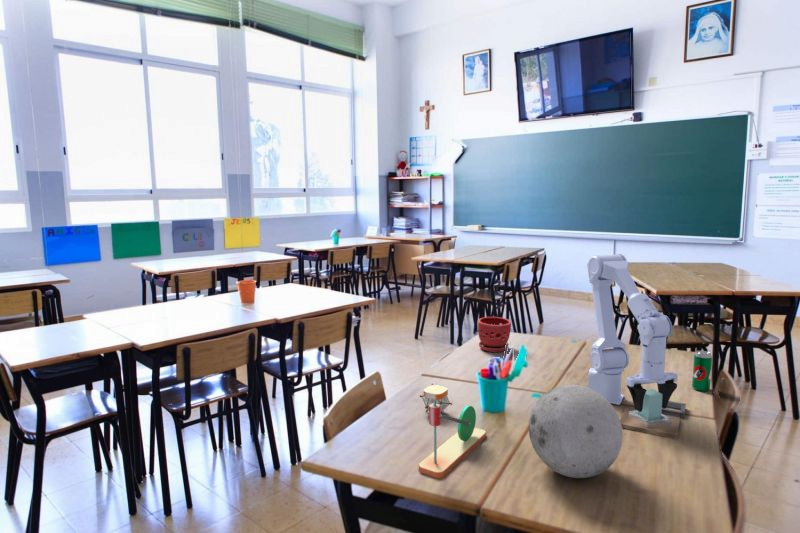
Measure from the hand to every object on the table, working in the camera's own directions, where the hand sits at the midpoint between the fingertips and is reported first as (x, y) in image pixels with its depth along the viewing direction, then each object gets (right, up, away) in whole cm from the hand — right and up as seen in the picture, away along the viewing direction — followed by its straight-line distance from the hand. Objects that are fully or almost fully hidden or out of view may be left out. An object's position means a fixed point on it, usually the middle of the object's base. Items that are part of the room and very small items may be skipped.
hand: (650, 408), depth 142 cm
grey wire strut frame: (-57, -4, +10) cm, 58 cm away
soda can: (+28, -1, +24) cm, 37 cm away
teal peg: (0, -3, +1) cm, 3 cm away
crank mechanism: (-54, -8, -13) cm, 56 cm away
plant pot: (-30, +5, +70) cm, 76 cm away
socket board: (0, -4, +1) cm, 4 cm away
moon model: (-28, -8, -23) cm, 37 cm away
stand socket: (+10, -3, +9) cm, 13 cm away
